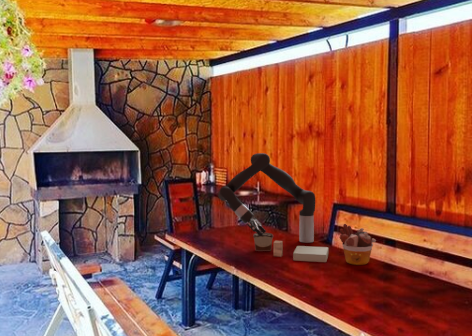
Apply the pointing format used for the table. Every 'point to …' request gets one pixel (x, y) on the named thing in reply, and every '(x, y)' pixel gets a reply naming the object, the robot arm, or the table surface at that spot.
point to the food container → (263, 242)
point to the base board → (310, 254)
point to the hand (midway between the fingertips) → (263, 233)
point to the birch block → (278, 248)
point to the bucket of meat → (356, 245)
